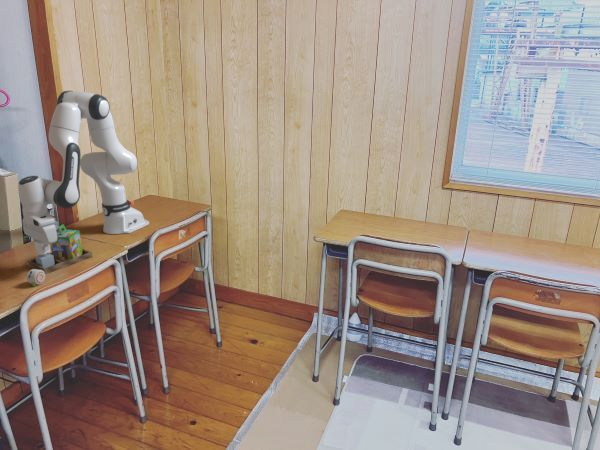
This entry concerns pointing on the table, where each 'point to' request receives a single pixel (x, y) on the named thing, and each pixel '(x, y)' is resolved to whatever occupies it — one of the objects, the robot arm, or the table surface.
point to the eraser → (40, 247)
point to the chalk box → (67, 244)
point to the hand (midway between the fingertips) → (42, 248)
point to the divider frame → (60, 264)
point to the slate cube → (45, 260)
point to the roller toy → (36, 277)
